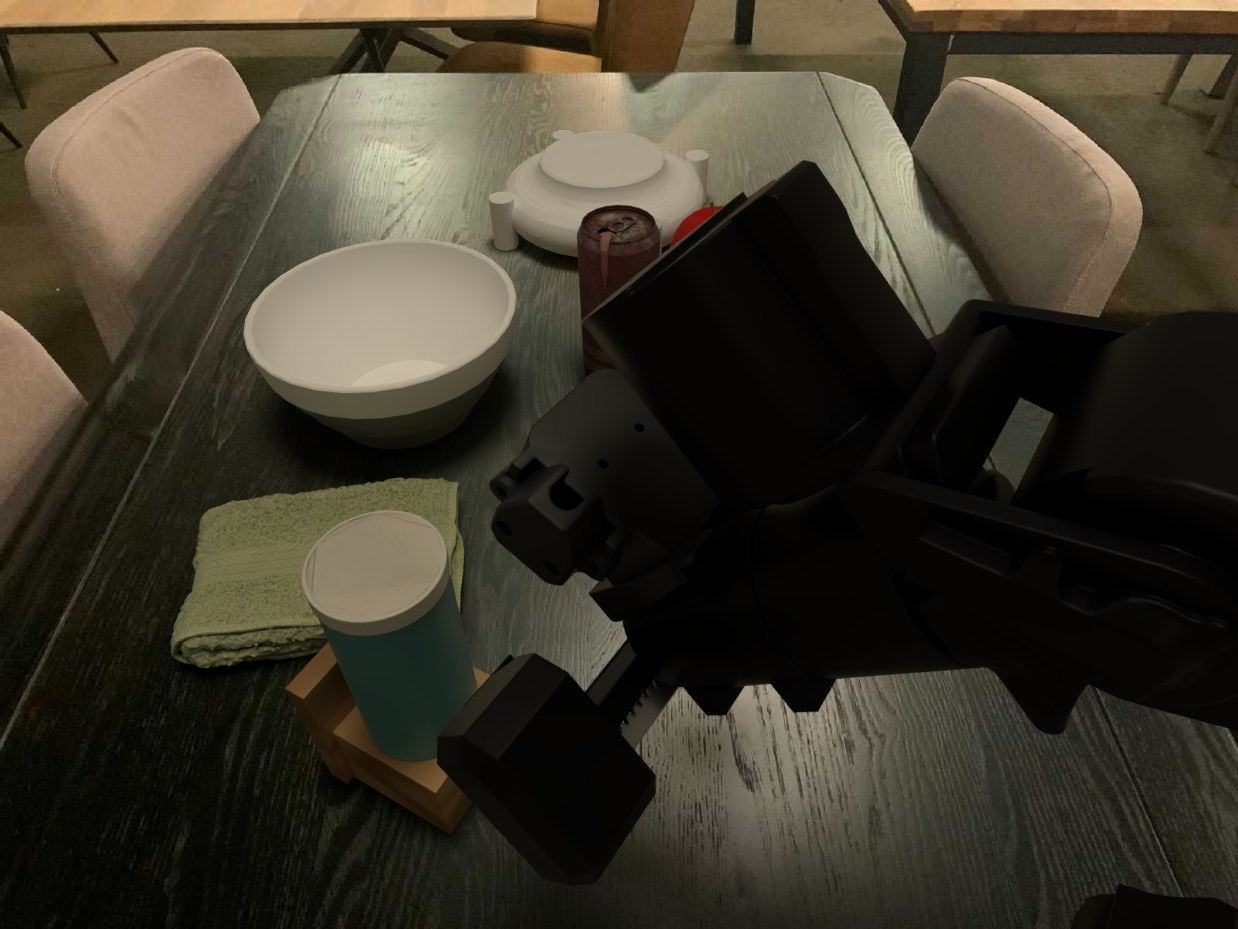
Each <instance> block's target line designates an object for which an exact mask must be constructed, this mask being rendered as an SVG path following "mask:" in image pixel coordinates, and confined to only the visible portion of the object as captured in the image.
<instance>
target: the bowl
mask: <svg viewBox="0 0 1238 929" xmlns="http://www.w3.org/2000/svg"><path fill="white" fill-rule="evenodd" d="M517 299H518V298H517V292H516V288H515V285H514V282H513V280H512V279H511V277H510V275H508V273H507V272H506V270H505V269H504V268H503V267H502V266H501V265H499V264H498V263H497V262H496V261H494V260H493V259H492V258H490V257H488V256H486V255H484V254H482V253H481V252H479V251H477V250H475V249H472V248H470V247H466V246H464V245H460V244H457V243H452V242H448V241H442V240H437V239H427V238H426V239H425V238H414V237H413V238H388V239H379V240H371V241H364V242H361V243H356V244H351V245H347V246H342V247H340V248H337V249H333V250H330V251H327V252H325V253H321V254H319V255H316V256H315V257H312V258H309V259H308V260H306V261H303V262H301V263H299V264H298V265H295V266H294V267H293V268H291V269H289V270H287V271H286V272H284V273H283V274H281V275H279V276H278V277H277V278H276V279H275V280H274V281H272V282H271V283H270V284H268V285H267V286H266V287H264V289H263V290H262V292H261V293H260V294H259V296H258V297H256V299H255V301H253V302H252V304H251V306H250V308H249V310H248V313H247V315H246V316H245V319H244V325H243V338H244V343H245V347H246V351H247V352H248V354H249V357H250V359H251V360H252V362H253V364H254V365H255V367H256V369H257V370H258V371H259V373H260V374H261V376H262V377H263V379H264V380H265V381H266V383H267V384H268V385H269V387H271V389H272V390H273V391H274V392H275V393H276V394H277V395H279V396H280V397H281V398H282V399H284V400H285V401H286V402H288V403H290V404H291V405H293V406H294V407H295V408H297V409H298V410H300V411H301V412H303V413H304V414H306V415H308V416H311V417H313V418H314V419H315V420H317V421H318V422H319V423H320V424H322V425H324V426H325V427H327V428H330V429H332V430H334V431H336V432H339V433H341V434H344V435H345V436H346V437H348V438H349V439H350V440H352V441H354V442H356V443H358V444H360V445H362V446H366V447H369V448H374V449H382V450H404V449H410V448H414V447H415V448H416V447H420V446H424V445H427V444H430V443H433V442H435V441H437V440H440V439H441V438H443V437H445V436H448V434H450V433H452V432H453V431H455V430H456V429H457V428H459V426H461V425H462V424H463V423H464V422H465V421H466V419H467V418H468V417H469V415H470V414H471V412H472V410H473V407H474V406H475V405H476V404H477V402H478V401H479V400H481V398H482V397H483V395H484V394H485V392H486V391H487V390H488V388H489V386H490V385H491V382H492V380H493V378H494V377H495V375H496V374H497V373H498V372H499V370H500V368H501V366H502V364H503V362H504V361H505V358H506V357H507V355H508V353H509V351H510V348H511V346H512V344H513V342H514V337H515V331H516V324H517V314H518V304H517V302H518V301H517Z"/></svg>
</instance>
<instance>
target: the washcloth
mask: <svg viewBox="0 0 1238 929" xmlns="http://www.w3.org/2000/svg"><path fill="white" fill-rule="evenodd" d="M460 486H461V485H460V483H459V482H457V481H449V480H446V479H445V478H443V477H439V478H431V477H430V478H428V479H426V478H417V477H416V478H414V477H410V478H406V479H405V478H404V477H395V478H388V479H386V480H384V481H378V480H377V481H375V482H372V483H371V482H370V481H368V482H366V483H363V484H353V485H348V486H345V485H342V486H340V487H339V486H338V487H337V488H334V487H329V488H326V489H318V490H311V491H305V492H303V491H300V492H298V493H296V494H290V493H286V492H283V493H279V492H277V493H274V494H272V495H269V494H268V495H263V496H260V497H254V498H249V499H242V500H234V499H233V500H231V501H230V502H227V503H224V504H222V505H219V506H218V505H217V506H215V507H211V508H210V509H208V510H207V511H206V512H205V513H204V514H202V516H201V518H200V520H199V522H198V523H199V527H198V534H197V540H196V547H195V550H196V551H195V556H194V557H193V559H192V566H193V572H194V573H195V574H194V576H193V583H192V587H191V592H189V593H188V595H187V596H186V598H185V599H184V601H183V602H184V603H183V604H181V606H180V607H179V611H180V612H179V613H178V615H177V618H176V620H175V622H174V624H173V628H172V629H173V632H172V637H171V638H170V653H171V654H170V655H171V656H172V658H173V659H175V660H176V661H177V662H181V663H183V664H189V665H196V667H198V668H200V669H209V668H212V669H213V668H219V667H225V666H228V667H231V666H235V665H239V664H241V663H242V662H244V661H245V662H246V661H248V662H253V661H262V660H267V659H268V660H275V661H282V660H287V659H295V658H300V657H307V656H310V655H315V654H317V653H318V652H319V651H320V650H321V649H322V648H323V647H324V646H325V645H326V644H327V643H328V639H327V637H326V635H325V633H324V630H323V628H322V626H321V624H320V621H319V619H318V618H317V617H316V615H315V614H314V613H313V611H312V609H311V607H310V605H309V603H308V601H307V598H306V596H305V594H304V591H303V587H302V570H303V565H304V563H305V560H306V558H307V556H308V554H309V552H310V550H311V549H312V548H313V546H314V545H315V544H316V543H317V541H318V540H319V539H320V538H321V537H322V536H323V535H324V534H326V533H327V532H328V531H329V530H331V529H332V528H334V527H335V526H337V525H338V524H340V523H342V522H344V521H346V520H348V519H350V518H353V517H355V516H358V515H361V514H365V513H369V512H375V511H384V510H395V511H403V512H408V513H412V514H415V515H418V516H420V517H422V518H424V519H426V520H427V521H428V522H430V523H431V524H432V525H433V526H435V527H436V528H437V530H438V531H439V532H440V533H441V535H442V537H443V539H444V541H445V544H446V548H447V552H448V556H449V561H450V574H451V579H452V583H453V587H454V591H455V595H456V599H457V604H458V608H459V612H460V613H461V592H462V583H463V575H464V565H465V548H464V542H463V536H462V535H461V533H460V530H459V503H460V502H459V501H460V493H461V490H460V488H461V487H460Z"/></svg>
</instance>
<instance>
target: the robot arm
mask: <svg viewBox="0 0 1238 929" xmlns="http://www.w3.org/2000/svg"><path fill="white" fill-rule="evenodd" d="M722 206H723V207H722V208H721V209H719V210H718V211H717V212H715V213H714V214H713V215H712V216H710V217H709V218H708V219H706V220H705V221H704V222H703V223H701V224H700V225H699V226H697V227H696V228H695V229H694V230H692V231H691V232H690V233H689V234H687V235H686V236H685V237H683V238H682V239H681V240H680V241H678V242H677V243H676V244H675V245H673V246H672V247H671V248H670V247H669V248H668V249H667V250H666V251H665V252H663V253H661V256H659V257H658V258H657V259H656V260H654V261H653V262H652V263H651V264H649V265H648V266H647V267H646V268H644V269H643V270H642V271H641V272H639V273H638V274H637V275H636V276H634V277H633V278H632V279H631V280H629V281H628V282H627V283H626V284H625V285H623V286H622V287H621V288H620V289H618V290H617V291H616V292H615V293H613V294H612V295H611V296H610V297H609V298H607V299H606V300H605V301H604V302H603V303H601V304H600V305H599V306H598V307H597V308H595V309H594V310H593V311H592V312H591V313H590V314H588V315H587V316H586V317H585V318H584V319H583V320H582V321H581V320H580V324H581V323H582V324H583V326H584V327H585V328H586V330H587V331H588V332H589V333H590V335H591V336H592V337H593V339H594V340H595V341H596V342H597V344H598V345H599V346H600V348H601V349H602V350H603V351H604V353H605V354H606V355H607V357H608V358H609V359H610V360H611V362H612V363H613V364H614V366H615V367H616V368H617V369H618V371H617V370H612V369H601V370H597V371H595V372H593V373H591V374H590V375H588V376H587V377H586V376H585V378H584V379H583V380H581V381H580V382H579V383H578V384H576V386H575V387H574V388H573V389H571V391H569V392H568V393H567V394H566V395H564V396H563V398H561V399H560V400H559V401H558V402H557V403H556V404H555V405H553V406H552V407H551V408H550V409H549V410H548V411H547V412H546V413H544V415H542V416H541V417H540V418H539V419H538V420H537V421H536V422H535V423H534V424H533V425H532V426H531V427H530V429H529V432H528V434H527V436H526V439H525V441H524V443H523V446H522V449H521V451H520V453H519V454H518V455H517V456H515V458H513V459H512V460H511V461H510V462H509V463H508V464H507V465H505V467H503V468H502V469H501V470H500V471H499V472H498V473H497V474H496V475H495V476H494V477H492V478H491V480H489V484H488V486H489V489H490V491H491V493H492V494H493V496H494V497H495V498H496V499H497V500H498V501H499V502H500V503H499V504H498V505H497V507H496V508H495V510H494V513H493V515H492V517H491V519H490V523H489V525H490V530H491V532H492V534H493V536H494V538H495V540H496V541H497V543H499V544H500V545H501V546H502V547H503V548H504V549H506V551H508V552H509V553H510V554H511V555H513V556H514V557H515V558H516V559H517V560H519V562H520V563H522V564H523V565H524V566H525V567H527V568H528V569H529V570H530V571H531V572H532V573H534V574H535V575H536V576H537V577H538V578H539V579H540V580H542V581H543V582H545V583H546V584H548V585H553V586H557V587H559V586H560V587H563V586H564V585H565V584H566V583H567V582H568V581H569V580H570V578H571V577H572V576H574V574H576V573H582V574H585V575H587V577H588V578H590V579H592V580H594V581H596V582H597V583H596V584H595V585H594V586H593V587H592V588H591V589H590V591H589V592H588V595H589V596H590V598H591V599H592V600H593V601H594V602H595V604H596V605H597V606H598V607H599V608H600V609H601V611H602V612H603V613H604V615H605V616H606V618H608V619H609V620H610V621H612V622H613V623H620V622H622V628H623V630H624V633H625V637H626V639H625V640H624V641H623V643H622V644H621V645H620V647H619V648H618V649H617V650H616V652H615V653H614V654H613V655H612V656H611V658H610V659H609V660H608V661H607V663H606V664H605V665H604V667H603V668H602V670H601V671H599V673H598V674H597V675H596V677H595V678H594V680H593V681H591V683H590V684H589V685H588V687H587V688H586V689H585V690H584V689H583V688H582V686H581V685H580V684H579V683H578V682H577V681H576V679H575V678H574V677H573V676H572V675H571V674H570V673H569V672H568V671H567V670H565V669H563V668H561V667H560V666H558V665H556V664H555V663H553V662H552V661H550V660H548V659H546V658H545V657H543V656H541V655H540V654H538V653H536V652H531V653H525V654H519V655H518V656H516V657H514V656H513V655H512V654H508V655H507V656H506V657H505V658H504V660H503V661H502V662H501V663H500V664H499V665H498V666H497V667H496V669H495V670H494V671H493V672H492V673H491V674H489V675H490V677H489V678H488V679H487V680H486V681H485V682H484V683H483V684H482V685H481V687H480V688H479V689H478V690H477V691H476V692H475V693H474V694H473V696H472V697H471V698H470V699H469V700H468V701H467V702H466V703H465V704H464V706H463V707H462V709H461V711H460V712H459V713H458V714H457V715H456V716H455V717H454V719H453V720H452V721H451V722H450V723H449V724H448V725H447V726H446V727H445V729H444V730H443V731H442V732H441V733H440V734H439V735H438V737H437V765H438V766H439V767H440V768H441V769H442V770H443V771H444V772H445V773H446V775H447V776H448V777H449V778H450V779H451V780H452V781H453V782H454V783H455V784H456V785H457V786H458V788H459V789H460V790H461V791H462V792H463V793H464V794H465V795H466V796H467V797H468V798H469V800H470V801H471V802H472V805H474V807H475V808H477V809H478V811H480V813H481V814H482V815H483V816H484V817H485V818H486V819H487V821H488V822H489V823H490V824H491V825H492V826H493V827H494V828H495V829H496V830H497V831H498V832H499V833H500V834H501V836H503V838H504V839H505V840H506V841H507V842H508V843H509V844H510V846H512V847H513V849H514V850H515V851H516V852H517V853H518V854H519V855H520V856H521V857H522V859H523V860H525V862H526V863H527V864H528V865H529V866H530V867H531V868H532V869H533V870H534V871H535V873H536V874H537V875H538V876H539V877H540V878H541V880H543V881H547V882H551V883H554V884H559V885H562V886H565V887H579V886H589V885H597V883H598V882H599V880H600V879H601V878H602V875H603V874H604V873H605V872H606V870H607V869H608V867H609V865H610V864H611V862H612V861H613V859H614V858H615V857H616V855H617V853H618V852H619V850H620V849H621V847H622V846H623V844H625V842H626V840H627V839H628V837H629V835H630V834H631V833H632V831H633V829H634V828H635V826H636V825H637V823H638V822H639V820H640V819H641V817H642V816H643V814H644V813H645V812H646V810H647V808H648V807H649V805H650V804H651V802H652V801H653V799H654V798H655V797H656V795H657V774H656V773H655V771H654V770H653V769H652V768H651V767H650V766H649V765H648V764H647V762H646V761H645V760H644V759H643V757H642V756H641V755H640V754H639V753H638V752H637V751H636V748H637V747H638V746H639V744H640V743H641V741H642V740H643V738H644V737H645V736H646V734H647V733H648V731H649V730H650V729H651V727H652V726H653V724H654V723H655V721H656V720H657V719H658V717H659V716H660V714H662V712H663V711H664V709H665V707H666V706H667V705H668V703H670V701H671V699H672V698H673V696H674V695H675V693H676V692H677V691H678V690H679V689H680V688H681V689H684V691H685V692H686V693H687V694H688V695H689V697H690V698H691V699H692V701H693V702H694V703H695V704H696V705H697V706H698V708H699V709H700V710H701V711H702V712H703V714H704V715H705V716H706V717H716V716H717V717H718V716H720V717H721V716H727V714H728V713H729V712H730V710H731V709H732V707H733V705H734V704H735V703H736V701H737V700H738V698H739V696H740V695H741V693H742V692H743V691H744V689H745V687H753V686H754V687H755V686H765V685H766V686H767V685H771V687H772V688H773V690H775V692H776V693H777V694H778V696H779V697H780V698H781V700H782V701H783V702H784V704H786V705H787V707H788V708H789V710H790V711H791V712H792V713H794V714H795V713H797V714H799V713H800V714H801V713H802V714H803V713H818V712H819V711H820V709H821V708H822V707H823V704H824V702H825V701H826V699H827V697H828V696H829V694H830V693H831V690H832V688H833V687H834V686H835V683H836V681H837V680H841V679H853V678H854V679H855V678H868V677H880V676H881V677H882V676H892V675H893V676H895V675H908V674H919V673H921V674H922V673H932V672H933V673H934V672H945V671H959V670H972V669H981V668H984V669H987V670H990V671H992V673H994V674H995V676H996V677H997V678H998V679H999V681H1000V682H1001V684H1002V685H1003V686H1004V687H1005V689H1006V690H1007V691H1008V692H1009V694H1010V695H1011V697H1012V698H1013V699H1014V701H1015V703H1017V705H1018V706H1019V707H1020V709H1021V710H1022V711H1023V713H1024V714H1025V716H1026V717H1027V718H1028V720H1029V721H1030V722H1031V724H1032V725H1033V726H1034V727H1035V728H1036V729H1037V730H1038V731H1039V732H1041V733H1043V734H1046V735H1051V736H1059V735H1061V734H1063V733H1064V732H1065V731H1066V728H1067V727H1068V724H1069V721H1070V718H1071V715H1072V713H1073V710H1074V708H1075V706H1076V704H1077V702H1078V700H1079V698H1080V697H1081V695H1082V694H1083V693H1084V691H1085V690H1086V688H1087V687H1088V686H1091V687H1093V688H1095V689H1097V690H1099V691H1101V692H1103V693H1105V694H1108V695H1110V696H1112V697H1114V698H1117V699H1121V700H1123V701H1126V702H1129V703H1133V704H1136V705H1139V706H1143V707H1146V708H1150V709H1153V710H1157V711H1160V712H1164V713H1168V714H1172V715H1176V716H1179V717H1183V718H1187V719H1191V720H1194V721H1198V722H1202V723H1206V724H1210V725H1214V726H1217V727H1220V728H1225V729H1228V730H1231V731H1236V732H1238V312H1234V311H1231V312H1230V311H1206V310H1205V311H1202V310H1201V311H1200V310H1188V311H1183V312H1177V313H1176V312H1175V313H1170V314H1162V315H1158V316H1156V317H1153V318H1151V319H1149V320H1148V322H1146V324H1145V323H1139V322H1134V321H1133V322H1131V321H1126V320H1120V319H1112V318H1105V317H1099V316H1093V315H1087V314H1079V313H1071V312H1066V311H1059V310H1052V309H1045V308H1039V307H1033V306H1026V305H1021V304H1020V305H1019V304H1012V303H1005V302H999V301H992V300H986V299H979V298H971V299H968V300H966V301H964V303H962V304H961V305H960V307H959V308H958V309H957V311H956V313H955V314H954V316H952V319H951V320H950V321H949V323H948V324H946V327H945V328H944V330H943V331H942V332H939V333H938V334H935V335H934V336H931V337H929V338H927V336H926V335H925V334H924V332H923V331H922V330H921V328H920V326H919V325H918V323H917V322H916V321H915V319H914V318H913V316H912V315H911V313H910V312H909V310H908V308H906V306H905V304H904V303H903V302H902V300H901V299H900V297H899V296H898V294H897V293H896V292H895V290H894V289H893V288H892V286H891V284H890V283H889V282H888V280H887V279H886V277H885V276H884V274H883V273H882V270H880V269H879V267H878V266H877V264H876V263H875V261H874V260H873V259H872V257H871V256H870V254H869V252H868V251H867V250H866V248H865V247H864V245H863V243H862V242H861V240H860V238H859V236H858V235H857V233H856V230H855V227H854V225H853V222H852V220H851V217H850V215H849V213H848V210H847V207H846V206H845V204H844V203H843V201H842V199H841V198H840V196H839V194H838V193H837V192H836V190H835V189H834V187H833V186H832V184H831V183H830V181H829V180H828V178H827V177H826V175H825V174H824V173H823V171H822V169H821V168H820V167H819V165H818V164H817V162H814V161H811V160H806V159H802V160H801V161H799V162H798V163H797V164H795V165H794V166H793V167H791V168H790V169H789V170H788V171H786V172H785V173H783V174H782V175H781V176H780V177H778V178H777V179H772V180H771V181H769V182H768V183H766V184H765V185H763V186H761V187H760V188H758V189H757V190H756V191H755V192H753V193H752V194H751V195H749V196H747V195H746V193H745V191H742V192H740V193H739V194H738V195H736V196H735V197H734V198H732V199H731V200H730V201H728V202H727V203H726V204H724V205H722ZM1020 399H1022V400H1024V401H1027V402H1029V403H1030V404H1033V405H1035V406H1036V407H1039V408H1041V409H1043V410H1045V411H1047V412H1049V413H1050V414H1052V415H1051V418H1050V419H1049V420H1050V421H1049V422H1048V424H1047V427H1046V428H1045V430H1044V433H1043V435H1042V436H1041V438H1040V441H1039V442H1038V445H1037V447H1036V449H1035V451H1034V453H1033V455H1032V457H1031V459H1030V461H1029V463H1028V465H1027V467H1026V468H1025V471H1024V473H1023V475H1022V477H1021V480H1020V481H1019V484H1018V486H1017V488H1015V487H1014V485H1013V484H1012V482H1011V481H1010V479H1009V478H1008V476H1006V475H1005V474H1003V473H1001V472H1000V471H998V470H995V469H992V468H989V469H986V468H985V467H984V466H985V463H986V462H987V459H988V458H989V456H990V454H991V452H992V451H993V448H994V447H995V445H996V443H997V441H998V439H999V438H1000V436H1001V434H1002V432H1003V430H1004V428H1005V426H1006V425H1007V423H1008V421H1009V419H1010V417H1011V415H1012V413H1013V412H1014V410H1015V408H1016V406H1017V405H1018V402H1019V401H1020ZM1070 929H1238V908H1237V907H1235V906H1233V905H1231V904H1229V903H1227V902H1226V901H1223V900H1221V899H1220V898H1217V897H1214V896H1198V897H1197V896H1195V897H1194V896H1188V897H1187V896H1170V895H1165V894H1160V893H1153V892H1149V891H1145V890H1142V889H1139V888H1135V887H1132V886H1129V885H1127V884H1123V883H1118V884H1117V886H1116V889H1115V893H1100V894H1095V895H1092V896H1088V897H1086V898H1085V900H1084V903H1083V905H1082V906H1080V907H1079V909H1078V910H1077V912H1076V913H1075V914H1074V917H1073V919H1072V922H1071V927H1070Z"/></svg>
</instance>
